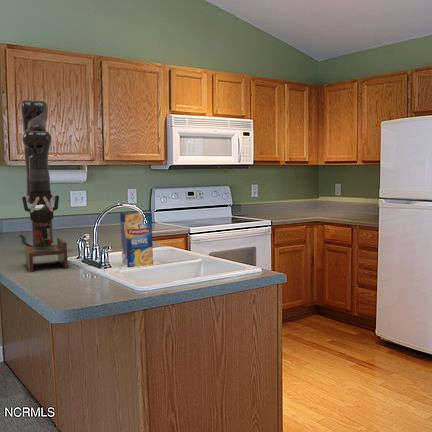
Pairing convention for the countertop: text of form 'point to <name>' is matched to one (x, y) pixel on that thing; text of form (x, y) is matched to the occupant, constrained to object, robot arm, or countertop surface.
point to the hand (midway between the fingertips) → (42, 220)
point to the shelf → (47, 253)
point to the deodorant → (42, 228)
